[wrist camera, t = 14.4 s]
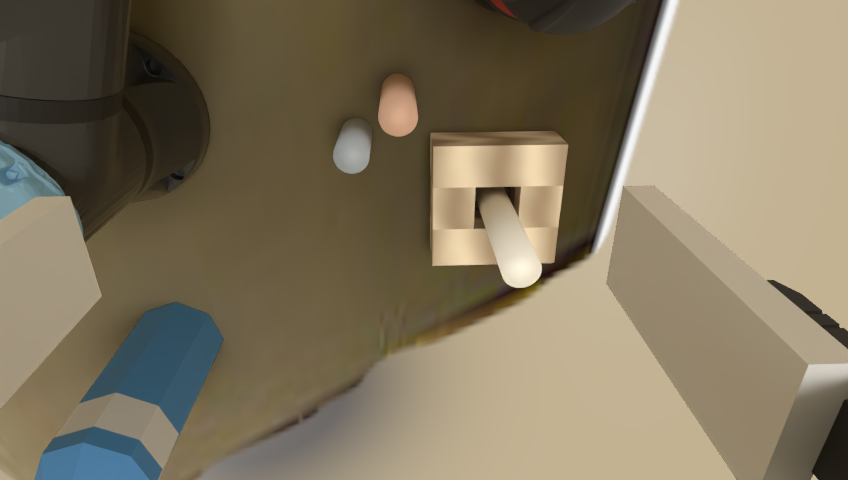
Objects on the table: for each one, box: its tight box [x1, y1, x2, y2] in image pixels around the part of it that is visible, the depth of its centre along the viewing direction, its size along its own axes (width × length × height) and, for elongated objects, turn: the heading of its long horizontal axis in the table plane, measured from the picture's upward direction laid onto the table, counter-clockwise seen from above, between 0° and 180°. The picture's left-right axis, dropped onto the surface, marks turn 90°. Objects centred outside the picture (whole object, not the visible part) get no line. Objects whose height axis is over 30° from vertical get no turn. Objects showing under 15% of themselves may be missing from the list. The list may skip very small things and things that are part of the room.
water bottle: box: [35, 302, 223, 480], centre depth 50 cm, size 9×9×25 cm
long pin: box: [475, 187, 542, 288], centre depth 47 cm, size 3×3×16 cm
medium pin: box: [378, 73, 418, 137], centre depth 45 cm, size 3×3×10 cm
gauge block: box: [430, 131, 568, 266], centre depth 52 cm, size 12×12×4 cm
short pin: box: [333, 118, 373, 174], centre depth 48 cm, size 3×3×7 cm
